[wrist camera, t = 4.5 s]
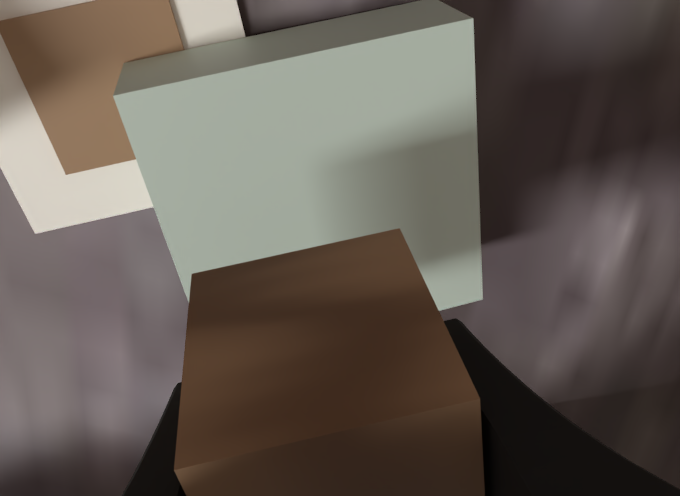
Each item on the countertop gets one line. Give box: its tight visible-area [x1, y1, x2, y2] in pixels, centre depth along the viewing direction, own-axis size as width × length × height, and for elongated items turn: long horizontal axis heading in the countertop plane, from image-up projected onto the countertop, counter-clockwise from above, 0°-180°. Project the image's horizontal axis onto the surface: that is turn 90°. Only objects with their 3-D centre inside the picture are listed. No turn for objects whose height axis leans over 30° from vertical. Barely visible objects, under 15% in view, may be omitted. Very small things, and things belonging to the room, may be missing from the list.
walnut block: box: [174, 228, 485, 496], centre depth 12 cm, size 4×4×5 cm
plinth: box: [113, 0, 483, 311], centre depth 19 cm, size 9×9×3 cm
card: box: [0, 0, 246, 234], centre depth 18 cm, size 8×8×1 cm
